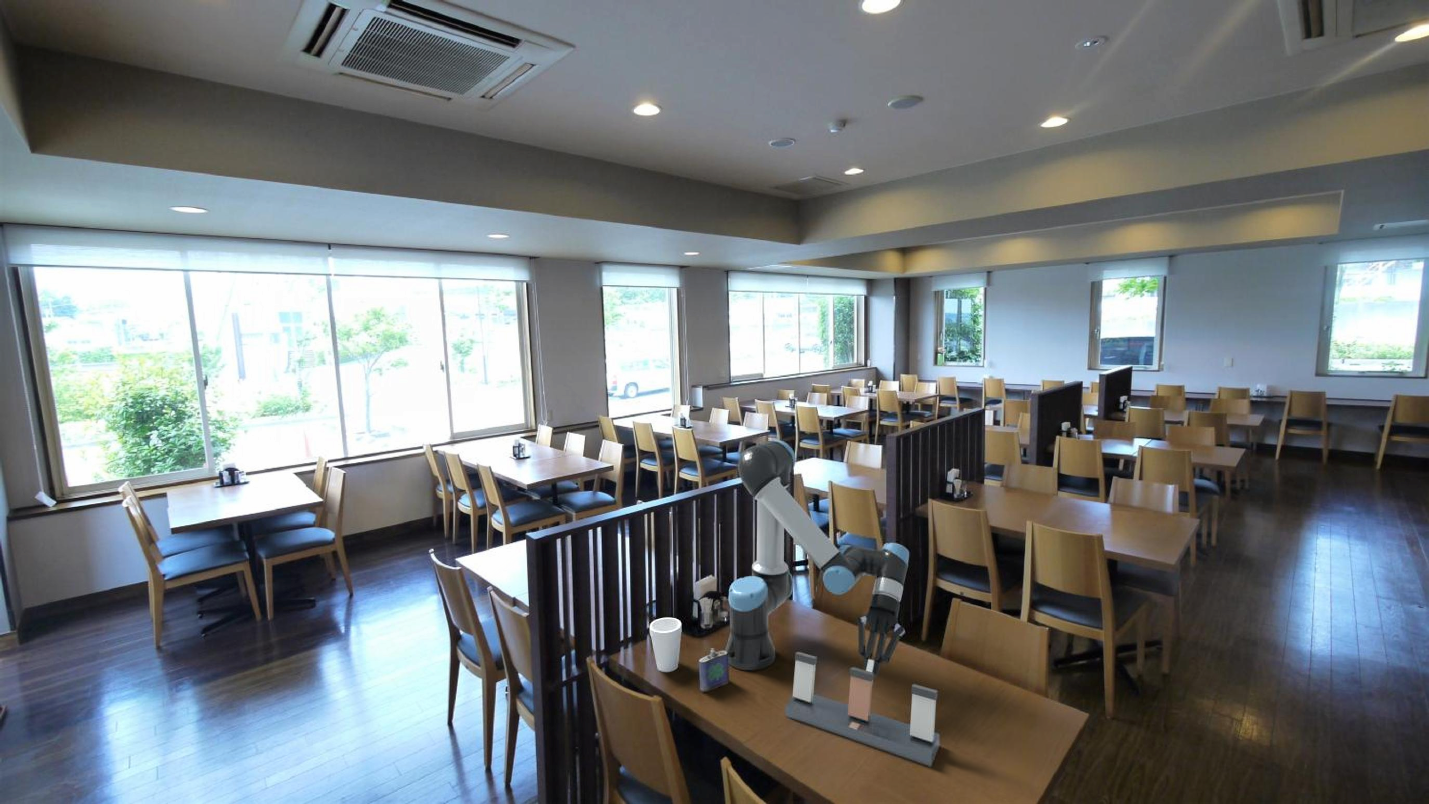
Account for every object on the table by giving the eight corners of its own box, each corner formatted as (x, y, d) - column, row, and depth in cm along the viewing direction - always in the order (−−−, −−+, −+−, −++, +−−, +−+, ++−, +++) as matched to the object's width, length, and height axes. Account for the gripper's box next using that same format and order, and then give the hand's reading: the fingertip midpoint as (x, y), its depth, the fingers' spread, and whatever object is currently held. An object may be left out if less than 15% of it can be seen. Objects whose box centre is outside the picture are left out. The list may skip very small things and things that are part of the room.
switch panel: (799, 699, 158) (798, 688, 157) (939, 745, 138) (939, 733, 138) (785, 716, 151) (785, 704, 151) (931, 767, 131) (931, 753, 131)
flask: (702, 693, 162) (701, 656, 161) (697, 688, 165) (696, 652, 164) (731, 682, 167) (729, 646, 166) (725, 677, 170) (724, 642, 169)
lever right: (910, 732, 138) (913, 684, 140) (934, 740, 135) (937, 690, 137) (908, 735, 137) (911, 686, 138) (932, 743, 134) (935, 692, 135)
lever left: (794, 695, 155) (798, 651, 156) (813, 701, 152) (817, 657, 153) (791, 697, 153) (795, 653, 154) (810, 703, 150) (814, 658, 151)
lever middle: (849, 712, 147) (852, 666, 148) (870, 719, 144) (874, 672, 145) (846, 715, 145) (850, 668, 146) (868, 722, 142) (871, 674, 143)
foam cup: (678, 676, 171) (676, 633, 170) (648, 673, 173) (645, 631, 172) (686, 658, 181) (684, 618, 179) (657, 656, 182) (655, 616, 181)
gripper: (913, 609, 160) (896, 699, 148) (866, 599, 167) (846, 684, 155) (907, 597, 155) (889, 690, 143) (859, 588, 162) (838, 675, 150)
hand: (867, 687), depth 149 cm, fingers closed
